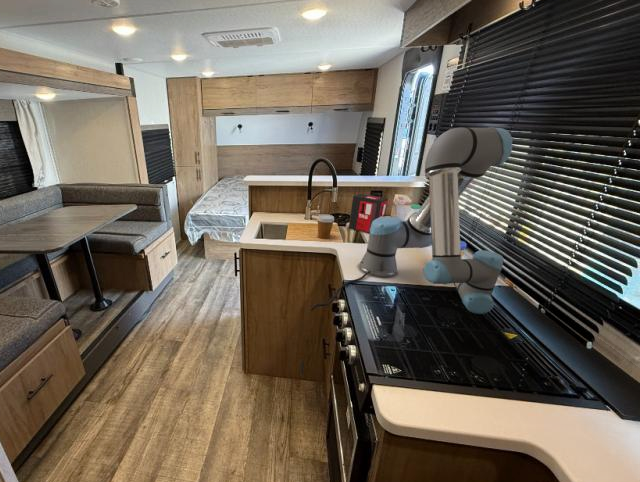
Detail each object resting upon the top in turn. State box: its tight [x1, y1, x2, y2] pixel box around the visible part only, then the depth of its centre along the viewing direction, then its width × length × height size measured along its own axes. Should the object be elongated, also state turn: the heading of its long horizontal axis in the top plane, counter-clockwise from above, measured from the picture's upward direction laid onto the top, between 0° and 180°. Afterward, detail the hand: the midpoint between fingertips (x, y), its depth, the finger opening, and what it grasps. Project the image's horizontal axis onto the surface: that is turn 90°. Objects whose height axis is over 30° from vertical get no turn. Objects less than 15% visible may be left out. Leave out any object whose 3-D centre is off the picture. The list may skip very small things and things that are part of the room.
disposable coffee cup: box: [316, 213, 335, 240], centre depth 172 cm, size 10×10×12 cm
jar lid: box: [460, 239, 468, 251], centre depth 132 cm, size 10×10×2 cm
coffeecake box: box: [390, 193, 413, 221], centre depth 183 cm, size 15×7×20 cm, turn 163°
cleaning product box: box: [348, 193, 389, 234], centre depth 181 cm, size 16×9×20 cm, turn 44°
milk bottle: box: [404, 203, 422, 221], centre depth 165 cm, size 8×8×20 cm
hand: (453, 259), depth 127 cm, fingers open, 13 cm apart
